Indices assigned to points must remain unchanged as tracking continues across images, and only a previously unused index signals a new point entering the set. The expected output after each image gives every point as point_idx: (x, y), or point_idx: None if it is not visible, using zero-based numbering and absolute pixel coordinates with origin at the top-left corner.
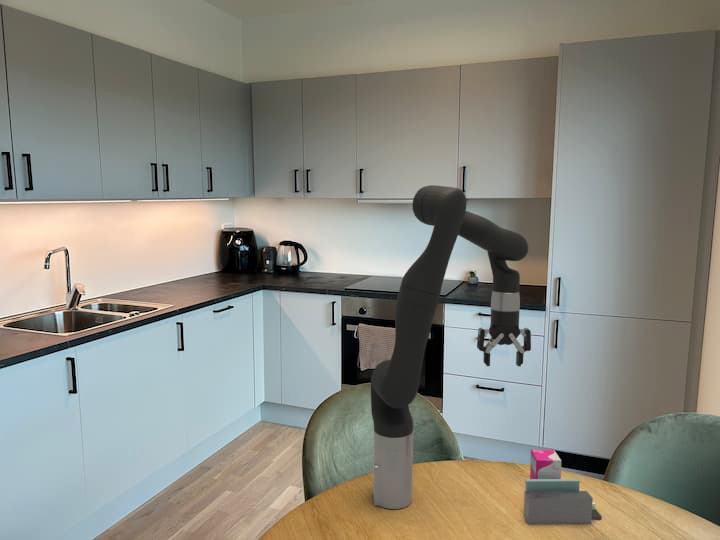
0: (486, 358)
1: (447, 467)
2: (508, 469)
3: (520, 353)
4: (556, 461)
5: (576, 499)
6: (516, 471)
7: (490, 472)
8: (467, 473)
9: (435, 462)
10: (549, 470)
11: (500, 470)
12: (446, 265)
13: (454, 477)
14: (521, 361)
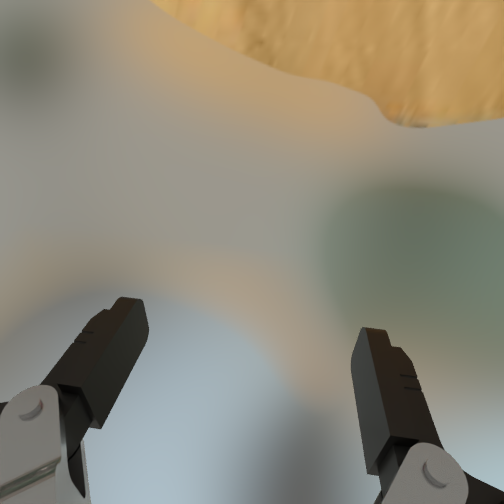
0: (406, 391)
1: (465, 81)
2: (289, 55)
3: (66, 388)
4: None
5: None
6: (270, 40)
7: (350, 37)
8: (424, 34)
9: (482, 117)
10: None
11: (314, 50)
12: None
13: (482, 6)
14: (99, 326)
